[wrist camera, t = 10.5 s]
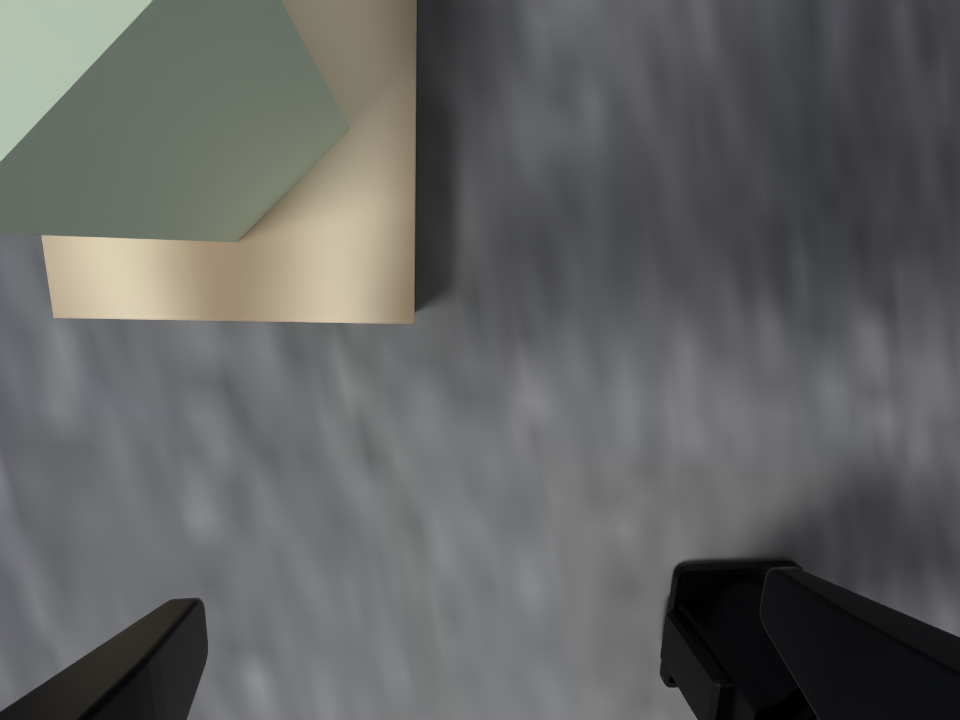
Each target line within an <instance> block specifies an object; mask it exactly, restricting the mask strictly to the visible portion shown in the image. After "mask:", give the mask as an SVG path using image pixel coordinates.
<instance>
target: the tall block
mask: <svg viewBox="0 0 960 720" xmlns="http://www.w3.org/2000/svg"><path fill="white" fill-rule="evenodd" d="M349 129H350V126H349V124H348V122H347V120H346V119H345V117H344V115H343V113H342V111H341V109H340V108H339V106H338V104H337V102H336V100H335V98H334V97H333V95H332V93H331V91H330V89H329V87H328V86H327V84H326V82H325V80H324V78H323V76H322V75H321V73H320V71H319V69H318V67H317V65H316V64H315V62H314V60H313V58H312V56H311V54H310V53H309V51H308V49H307V47H306V45H305V43H304V42H303V40H302V38H301V36H300V34H299V32H298V31H297V29H296V27H295V25H294V23H293V21H292V20H291V18H290V16H289V14H288V12H287V11H286V9H285V7H284V5H283V3H282V1H281V0H0V234H23V235H50V236H77V237H104V238H131V239H158V240H185V241H212V242H237V241H238V240H239V239H240V238H241V237H242V236H243V235H244V234H245V233H246V232H247V231H248V230H249V229H250V228H251V227H252V226H253V225H254V224H255V223H256V222H257V221H258V220H259V219H260V218H261V217H262V216H263V215H264V214H265V213H266V212H267V211H268V210H269V209H270V208H271V207H272V206H273V205H274V204H275V203H276V202H277V201H278V200H279V199H280V198H281V197H282V196H283V195H284V194H285V193H286V192H287V191H288V190H289V189H290V188H291V187H292V186H293V185H294V184H295V183H296V182H297V181H298V180H299V179H300V178H301V177H302V176H303V175H304V174H305V173H306V172H307V171H308V170H309V169H310V168H311V167H312V166H313V165H314V164H315V163H316V162H317V161H318V160H319V159H320V158H321V157H322V156H323V155H324V154H325V153H326V152H327V151H328V150H329V149H330V148H331V147H332V146H333V145H334V144H335V143H336V142H337V141H338V140H339V139H340V138H341V137H342V136H343V135H344V134H345V133H346V132H347V131H348V130H349Z"/></svg>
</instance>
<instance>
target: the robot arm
mask: <svg viewBox="0 0 960 720" xmlns="http://www.w3.org/2000/svg"><path fill="white" fill-rule="evenodd" d="M685 576H687V578H686V579H684V580H683V578H684V577H685ZM207 655H208V638H207V628H206V618H205V608H204V604H203V602H202V600H200V599H199V598H184V599H172V600H169V601H168V602H166V603H164V604H163V605H161V606H160V607H158V608H157V609H155V610H154V611H152V612H151V613H149V614H148V615H146V616H145V617H143V618H142V619H140V620H139V621H137V622H136V623H134V624H132V625H131V626H129V627H128V628H126V629H125V630H123V631H122V632H120V633H119V634H117V635H116V636H114V637H113V638H111V639H110V640H108V641H107V642H105V643H104V644H102V645H101V646H99V647H98V648H96V649H95V650H93V651H92V652H90V653H89V654H87V655H86V656H84V657H83V658H81V659H79V660H78V661H76V662H75V663H73V664H72V665H70V666H69V667H67V668H66V669H64V670H63V671H61V672H60V673H58V674H57V675H55V676H54V677H52V678H51V679H49V680H48V681H46V682H45V683H43V684H42V685H40V686H39V687H37V688H36V689H34V690H33V691H31V692H29V693H28V694H26V695H25V696H23V697H22V698H20V699H19V700H17V701H16V702H14V703H13V704H11V705H10V706H8V707H7V708H5V709H4V710H2V711H1V712H0V720H187V717H188V714H189V711H190V708H191V705H192V702H193V699H194V696H195V694H196V691H197V688H198V685H199V682H200V679H201V676H202V673H203V670H204V667H205V664H206V660H207ZM661 659H662V662H661V670H660V677H661V678H662V680H663V682H664V684H665V685H666V686H667V687H671V688H674V687H678V688H679V689H680V691H681V693H682V694H683V696H684V698H685V699H686V701H687V703H688V704H689V706H690V708H691V709H692V711H693V713H694V714H695V716H696V718H697V719H698V720H960V637H957V636H955V635H953V634H950V633H948V632H946V631H943V630H941V629H939V628H936V627H934V626H932V625H929V624H927V623H925V622H922V621H920V620H918V619H915V618H913V617H910V616H908V615H906V614H903V613H901V612H899V611H896V610H894V609H892V608H889V607H887V606H885V605H882V604H880V603H878V602H875V601H873V600H870V599H868V598H866V597H863V596H861V595H859V594H856V593H854V592H852V591H849V590H847V589H845V588H842V587H840V586H838V585H835V584H833V583H831V582H828V581H826V580H823V579H821V578H819V577H816V576H814V575H812V574H809V573H807V572H805V571H803V569H802V567H800V566H799V565H798V564H797V563H795V562H794V561H773V562H753V563H732V564H711V565H690V566H681V567H679V568H677V569H676V571H675V572H674V574H673V580H672V587H671V595H670V602H669V610H668V612H667V614H666V618H665V625H664V633H663V640H662V648H661Z"/></svg>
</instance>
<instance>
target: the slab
mask: <svg viewBox="0 0 960 720" xmlns="http://www.w3.org/2000/svg"><path fill="white" fill-rule="evenodd" d="M281 1H282V3H283V5H284V7H285V9H286V11H287V12H288V14H289V16H290V18H291V20H292V21H293V23H294V25H295V27H296V29H297V31H298V32H299V34H300V36H301V38H302V40H303V42H304V43H305V45H306V47H307V49H308V51H309V53H310V54H311V56H312V58H313V60H314V62H315V64H316V65H317V67H318V69H319V71H320V73H321V75H322V76H323V78H324V80H325V82H326V84H327V86H328V87H329V89H330V91H331V93H332V95H333V97H334V98H335V100H336V102H337V104H338V106H339V108H340V109H341V111H342V113H343V115H344V117H345V119H346V120H347V122H348V124H349V126H350V129H349V130H348V131H347V132H346V133H345V134H344V135H343V136H342V137H341V138H340V139H339V140H338V141H337V142H336V143H335V144H334V145H333V146H332V147H331V148H330V149H329V150H328V151H327V152H326V153H325V154H324V155H323V156H322V157H321V158H320V159H319V160H318V161H317V162H316V163H315V164H314V165H313V166H312V167H311V168H310V169H309V170H308V171H307V172H306V173H305V174H304V175H303V176H302V177H301V178H300V179H299V180H298V181H297V182H296V183H295V184H294V185H293V186H292V187H291V188H290V189H289V190H288V191H287V192H286V193H285V194H284V195H283V196H282V197H281V198H280V199H279V200H278V201H277V202H276V203H275V204H274V205H273V206H272V207H271V208H270V209H269V210H268V211H267V212H266V213H265V214H264V215H263V216H262V217H261V218H260V219H259V220H258V221H257V222H256V223H255V224H254V225H253V226H252V227H251V228H250V229H249V230H248V231H247V232H246V233H245V234H244V235H243V236H242V237H241V238H240V239H239V240H238V241H237V242H212V241H185V240H158V239H131V238H104V237H77V236H50V235H41V236H42V243H43V249H44V256H45V263H46V269H47V276H48V283H49V290H50V296H51V303H52V310H53V316H54V318H93V319H152V320H212V321H271V322H331V323H390V324H414V315H415V183H416V41H417V0H281Z"/></svg>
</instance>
